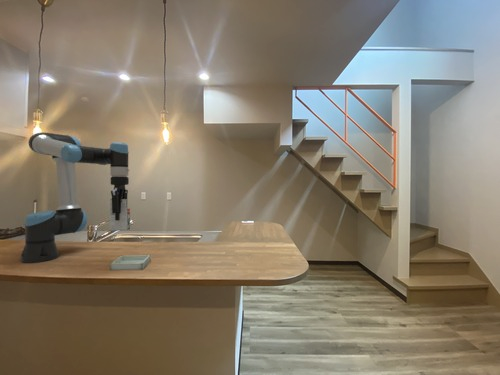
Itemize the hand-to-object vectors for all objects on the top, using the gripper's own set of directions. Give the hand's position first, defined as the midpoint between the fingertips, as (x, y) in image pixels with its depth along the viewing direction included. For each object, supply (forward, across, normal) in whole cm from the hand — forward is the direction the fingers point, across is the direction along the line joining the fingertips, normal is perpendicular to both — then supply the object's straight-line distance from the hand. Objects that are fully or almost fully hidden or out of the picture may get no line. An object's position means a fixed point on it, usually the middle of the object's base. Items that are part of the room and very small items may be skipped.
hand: (120, 226), depth 124 cm
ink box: (+2, 0, 0) cm, 2 cm away
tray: (+19, +1, -4) cm, 19 cm away
